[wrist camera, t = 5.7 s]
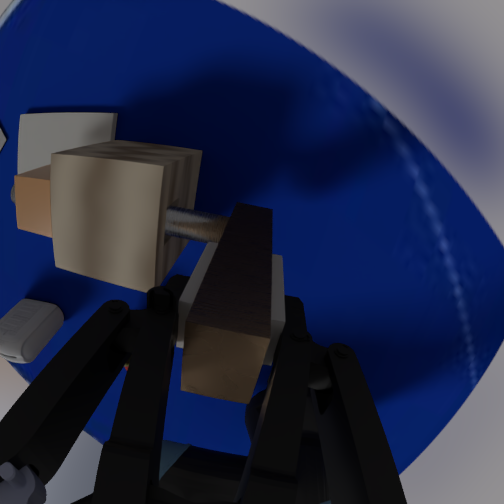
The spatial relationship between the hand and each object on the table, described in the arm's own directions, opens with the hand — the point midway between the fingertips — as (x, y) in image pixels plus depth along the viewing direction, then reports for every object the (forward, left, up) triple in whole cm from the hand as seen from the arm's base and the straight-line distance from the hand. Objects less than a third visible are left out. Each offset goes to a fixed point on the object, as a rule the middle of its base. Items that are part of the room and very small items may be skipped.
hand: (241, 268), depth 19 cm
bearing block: (+11, 0, -14) cm, 18 cm away
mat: (+24, 0, -14) cm, 28 cm away
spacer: (+19, 0, -8) cm, 21 cm away
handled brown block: (+11, 0, -8) cm, 14 cm away
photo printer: (+31, +23, -14) cm, 41 cm away
